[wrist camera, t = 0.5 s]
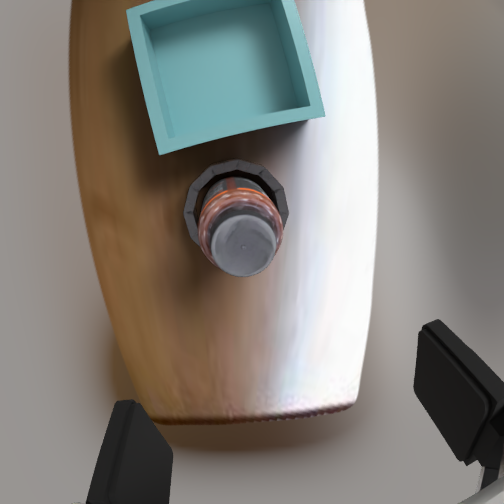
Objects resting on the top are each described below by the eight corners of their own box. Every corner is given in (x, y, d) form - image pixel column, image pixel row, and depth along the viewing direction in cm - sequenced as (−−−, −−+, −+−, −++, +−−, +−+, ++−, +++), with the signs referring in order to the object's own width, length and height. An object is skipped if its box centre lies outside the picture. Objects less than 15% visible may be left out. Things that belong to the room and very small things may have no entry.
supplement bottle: (196, 229, 30) (183, 280, 19) (211, 167, 28) (204, 186, 18) (257, 243, 31) (275, 300, 20) (274, 184, 29) (304, 212, 19)
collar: (177, 173, 28) (172, 176, 26) (270, 149, 28) (275, 150, 26) (202, 260, 31) (201, 271, 29) (290, 238, 31) (295, 247, 29)
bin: (140, 28, 23) (125, 10, 18) (275, -3, 23) (285, -25, 18) (170, 152, 27) (159, 155, 23) (308, 119, 27) (325, 116, 23)
